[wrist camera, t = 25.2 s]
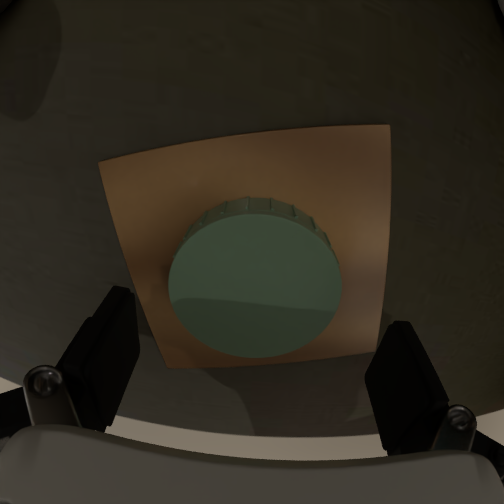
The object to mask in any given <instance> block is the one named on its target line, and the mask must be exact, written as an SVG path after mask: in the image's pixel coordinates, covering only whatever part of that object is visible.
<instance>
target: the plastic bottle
mask: <svg viewBox="0 0 504 504" xmlns="http://www.w3.org/2000/svg"><path fill="white" fill-rule="evenodd" d="M11 2H12V0H0V13H1V12H2V11H4V10H5V8H6V7H7V6H8V5H9V4H10V3H11Z"/></svg>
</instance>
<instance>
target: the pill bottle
mask: <svg viewBox="0 0 504 504" xmlns="http://www.w3.org/2000/svg"><path fill="white" fill-rule="evenodd" d="M498 3H499V6H500V9H501V11H502V14H503V16H504V0H498Z"/></svg>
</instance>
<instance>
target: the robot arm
mask: <svg viewBox="0 0 504 504" xmlns="http://www.w3.org/2000/svg"><path fill="white" fill-rule="evenodd" d="M139 354H140V343H139V335H138V326H137V316H136V305H135V295H134V293H130V289H129V288H125V287H119V286H113V287H112V288H111V290H110V291H109V293H108V294H107V296H106V297H105V298H104V300H103V301H102V303H101V304H100V306H99V307H98V309H97V310H96V312H95V313H94V315H93V316H92V317H88V318H87V319H86V320H85V321H84V323H83V324H82V326H81V327H80V329H79V331H78V332H77V334H76V335H75V337H74V338H73V340H72V341H71V343H70V344H69V346H68V347H67V349H66V351H65V352H64V354H63V355H62V357H61V359H60V360H59V362H58V363H57V365H56V367H54V366H51V365H40V366H37V367H34V368H33V369H31V370H30V371H29V372H28V373H27V374H26V376H25V378H24V380H23V387H20V388H16V389H14V390H10V391H7V392H4V393H1V394H0V504H504V446H503V445H501V444H499V443H498V442H496V441H494V440H493V439H491V438H489V437H488V436H486V435H484V434H482V433H481V432H479V431H477V430H476V428H477V421H476V417H475V416H474V414H473V413H472V411H471V410H470V409H468V408H467V407H465V406H463V405H457V404H455V405H452V406H450V407H449V405H448V402H449V398H448V396H447V394H446V392H445V390H444V388H443V386H442V383H441V381H440V379H439V377H438V375H437V373H436V371H435V369H434V367H433V365H432V363H431V361H430V359H429V357H428V355H427V353H426V351H425V349H424V347H423V346H422V344H421V342H420V340H419V338H418V336H417V334H416V332H415V331H414V329H413V327H412V325H411V323H410V322H408V321H394V322H393V324H390V325H389V326H388V328H387V330H386V333H385V335H384V337H383V339H382V341H381V343H380V345H379V347H378V349H377V351H376V353H375V355H374V357H373V359H372V361H371V363H370V365H369V367H368V369H367V371H366V373H365V384H366V387H367V390H368V394H369V398H370V401H371V405H372V408H373V412H374V416H375V419H376V423H377V427H378V431H379V435H380V439H381V442H382V447H383V449H384V450H385V451H386V450H387V454H388V456H385V457H376V458H363V459H349V460H327V461H326V460H324V461H323V460H321V461H291V460H267V459H251V458H240V457H229V456H220V455H213V454H205V453H198V452H192V451H186V450H180V449H174V448H169V447H164V446H159V445H154V444H149V443H144V442H140V441H136V440H132V439H127V438H123V437H119V436H115V435H112V434H107V433H104V432H105V429H106V427H107V426H111V425H112V423H113V420H114V418H115V415H116V413H117V410H118V407H119V405H120V402H121V400H122V397H123V394H124V392H125V389H126V387H127V384H128V382H129V379H130V377H131V374H132V372H133V369H134V367H135V364H136V362H137V360H138V357H139ZM95 430H96V431H95Z"/></svg>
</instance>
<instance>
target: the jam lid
mask: <svg viewBox="0 0 504 504" xmlns="http://www.w3.org/2000/svg"><path fill="white" fill-rule="evenodd" d="M331 248H332V245H331V243H330V241H329V238H328V236H327V234H326V232H323V231H322V230H321V228H320V227H319V226H318V225H317V224H316V223H315V221H314V218H313V217H312V216H311V217H309V216H308V215H306V214H305V213H304V212H303V211H301V210H299V209H297V208H296V207H295V205H294V204H292V205H289V204H287V203H284V202H281V201H277V200H273V198H272V197H270V199H267V198H250V197H249V196H247V198H243V199H237V200H233V201H229V202H227V201H224V203H223V204H221V205H219V206H216V207H215V208H213V209H211V210H210V211H208V212H207V211H205V212H204V214H203V216H201V217H200V218H199V219H198V220H197V221H196V222H195V223H194V224H193V225H190V226H189V228H188V230H187V232H186V234H185V236H184V237H183V241H182V242H181V241H180V243H179V245H178V247H177V249H176V251H175V253H174V255H173V258H174V260H173V262H172V265H171V268H170V272H169V279H168V292H169V297H170V301H171V304H172V307H173V310H174V312H175V314H176V316H177V318H178V319H179V320H180V322H181V323H182V325H183V326H184V327H185V328H186V329H187V330H188V331H189V333H191V334H192V335H193V336H194V337H195V338H196V339H198V340H199V341H201V342H202V343H204V344H205V345H207V346H209V347H211V348H213V349H215V350H218V351H220V352H223V353H226V354H230V355H234V356H239V357H247V358H265V357H273V356H278V355H282V354H285V353H289V352H291V351H294V350H296V349H299V348H301V347H302V346H304V345H306V344H308V343H309V342H311V341H312V340H313V339H315V338H316V337H317V336H318V335H319V334H321V333H322V332H323V330H324V329H325V328H326V327H327V326H328V325H329V323H330V322H331V320H332V319H333V317H334V315H335V313H336V311H337V309H338V306H339V303H340V299H341V293H342V279H341V273H340V269H339V266H340V264H339V262H338V259H337V257H336V255H335V252H334V250H333V249H331Z"/></svg>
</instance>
